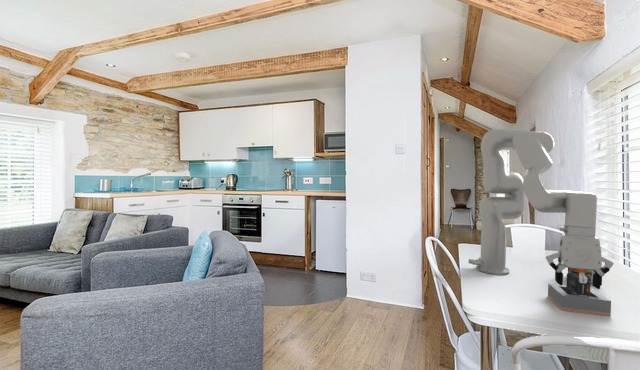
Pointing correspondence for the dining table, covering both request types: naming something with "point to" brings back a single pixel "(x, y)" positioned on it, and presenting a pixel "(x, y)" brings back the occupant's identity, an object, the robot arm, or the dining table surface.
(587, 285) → the pill bottle
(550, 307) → the dining table surface
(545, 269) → the dining table surface
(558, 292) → the grey square frame
